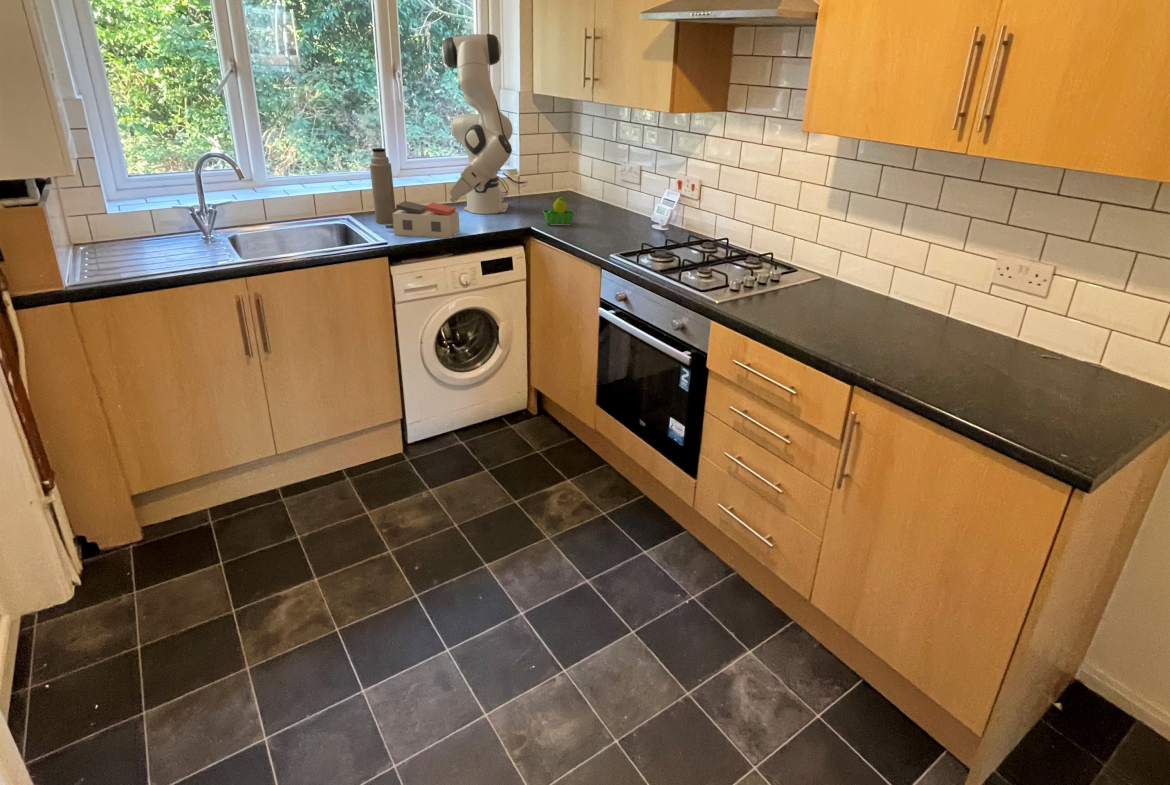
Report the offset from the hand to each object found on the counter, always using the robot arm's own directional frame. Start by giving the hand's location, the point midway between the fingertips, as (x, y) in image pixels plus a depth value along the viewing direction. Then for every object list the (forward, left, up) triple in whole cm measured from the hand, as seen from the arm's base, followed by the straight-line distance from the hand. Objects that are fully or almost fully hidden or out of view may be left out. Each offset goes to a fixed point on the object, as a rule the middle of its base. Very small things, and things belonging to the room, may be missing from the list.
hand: (452, 200), depth 261 cm
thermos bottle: (-15, -34, -13) cm, 39 cm away
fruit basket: (-27, +34, -13) cm, 45 cm away
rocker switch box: (0, -13, -13) cm, 18 cm away
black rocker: (0, -16, -5) cm, 17 cm away
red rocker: (0, -5, -5) cm, 7 cm away
